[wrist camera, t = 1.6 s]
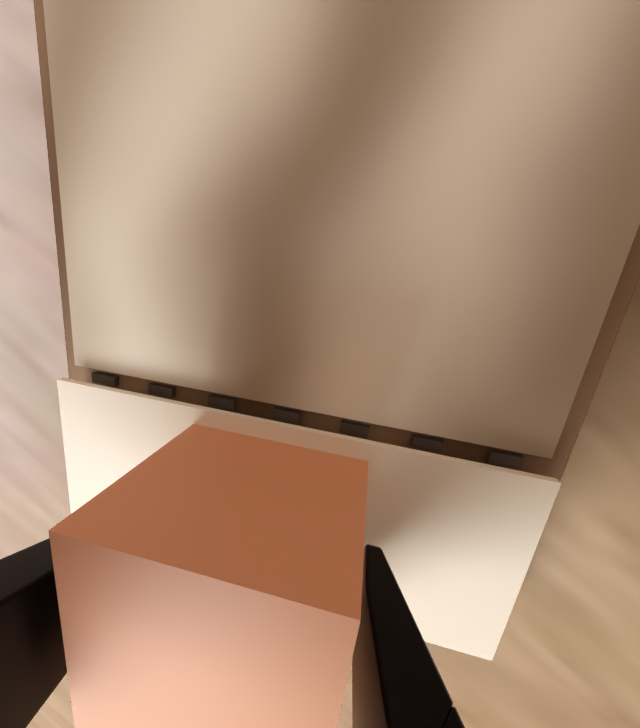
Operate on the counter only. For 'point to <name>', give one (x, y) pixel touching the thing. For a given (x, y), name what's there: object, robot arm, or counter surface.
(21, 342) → the counter surface
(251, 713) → the butter dish
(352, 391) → the board
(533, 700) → the counter surface
